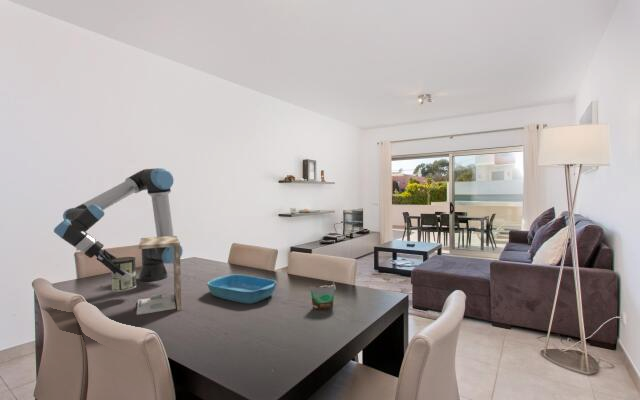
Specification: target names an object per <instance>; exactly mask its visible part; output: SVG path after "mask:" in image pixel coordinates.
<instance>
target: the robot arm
mask: <svg viewBox="0 0 640 400" xmlns="http://www.w3.org/2000/svg"><path fill="white" fill-rule="evenodd" d="M173 184H174V176H173V174H172V172H170V170H168V169H166V168H161V167H160V168H159V167H157V168H145V169H142V170H139V171H137V172H136V173H134V174H132V175H130V176H129V177H126V178H125V179H124V181H123V182H121V183H118V185H115V186H113V187H112V188H110V189H108V190H106V191H104V192H102V193H101V194H98V195H97V196H95V197H93V198H91V199H89V200H87V201H85V202H83V203H81V204H80V205H79V204H78V205H77V206H76V207H71V208H68V209H65V211H64V212H63V214H62V217H63V221H61V222H60V223H59V224H57V225H56V227H54V228H53V232H54V234H56V235H57V237H59V238H60V239H62V240H64V241H65V242H67V243H68V244H69V245H72V246H73V247H74V248H75V250H76V251H80V252H81V253H84V255H85V256H87V257H88V258H89V259H91V258H93V257H96V260H97V261H99V262H100V263H101V264H102V265H104V266H105V267H106V268H107V269H108V270H110V272H111V271H112V272H113V273H114V274H115V273H117V274H119V275H120V276H121V277H123V278H124V279H126V280H127V281H129V280H130V279H131V278H132V277H133V276H132V275H130V274H129V273H128V272H126V271H125V270H123V269H122V268H120V267H118V266H117V265H116V264H115V263H114V262H113V261H112V259H116V258H117V257H116V256H114V255H113V254H111V253H110V252H108V251H107V250H106V249H103V248H104V244H103V243H101V242H100V241H99V240H98V241H97V239H96V238H94V236H92V235H91V234H89V233H87V231H88V230H89V229H91V228H92V227H93V226H94V225H96V223H98V222H99V221H100V220H101V219H102V218H103V217H104V216H105V211H104V210H106V209H108V208H110V207H111V206H113V205H114V204H116V203H118V202H121V201H122V200H124V199H126V198H128V197H129V196H131V195H132V194H137V193H140V192H142V191H146V190H147V195H149V196H150V197H151V202H152V210H153V218H154V224H155V233H156V237H165V236H175V235H174V229H173V228H174V227H173V222H172V214H171V205H170V198H169V194H170V193H171V189H172V186H173ZM182 255H183V247H182V245H181V244H180V258H182ZM165 264H170V265H171V264H174V258H173V247H161V248H148V249H141V268H140V272H139V276H138V280H139V281H141V282H152V281H160V280H164V279H166V278H168V271H167V267H166V266H165Z"/></svg>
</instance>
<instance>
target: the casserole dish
mask: <svg viewBox="0 0 640 400" xmlns="http://www.w3.org/2000/svg"><path fill="white" fill-rule="evenodd" d="M206 285H207V287H208V289H209V292H210V294H211V295H212V296H214V297H215V298H219V299H223V300H228V301H231V302H232V301H233V302H236V303H242V304H255V303H259V302H260V301H263V300H266V299H267V298H269V297H271V296H272V295H273V294H274V292H275V288H276V285H277V280H275V279H272V278H270V279H269V278H265V277H260V276H254V275H247V274H241V273H237V274H236V273H235V274H229V275H228V274H227V275H223V276H219V277H218V276H217V277H215V278H211V280H209V281H207V283H206Z"/></svg>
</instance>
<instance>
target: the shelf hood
mask: <svg viewBox="0 0 640 400" xmlns="http://www.w3.org/2000/svg"><path fill="white" fill-rule="evenodd" d="M180 245H181V242H180V239H179V238H178V236H177V235H174V236H165V237H157V236H154V237H152V236H151V237H141V238H140V240H139V244H138V250H142V249H148V248H161V247H173V258H174V263H173V295H174V300H175V305H176V309H177V312H178V311H182V283H181V282H182V281H181V279H182V278H181V272H182V271H181V257H180Z"/></svg>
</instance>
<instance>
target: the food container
mask: <svg viewBox="0 0 640 400" xmlns="http://www.w3.org/2000/svg"><path fill="white" fill-rule="evenodd" d="M336 289H337V287H336V284H335V282H332V283H331V284H328V285H327V284H324V285H323V284H322V285H319V286H312V285H310V287H309V292H311V293H310V295H311V296H310V297H311V303H312V309H313V308H315V309H314V310H316V309H319V310H318V311H326V310H325V309H329V310H331V309H333V308H332V307H333V306H334V296H335V291H336ZM330 308H331V309H330Z"/></svg>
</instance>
